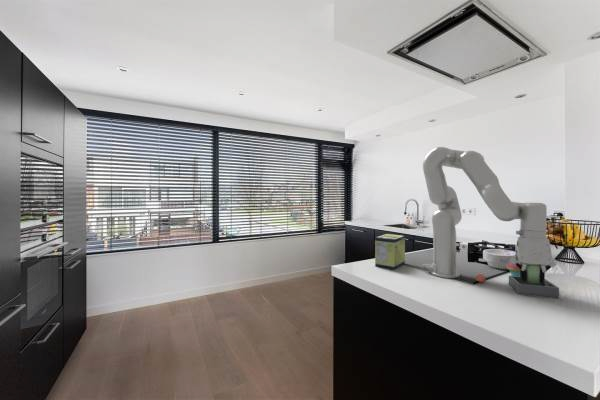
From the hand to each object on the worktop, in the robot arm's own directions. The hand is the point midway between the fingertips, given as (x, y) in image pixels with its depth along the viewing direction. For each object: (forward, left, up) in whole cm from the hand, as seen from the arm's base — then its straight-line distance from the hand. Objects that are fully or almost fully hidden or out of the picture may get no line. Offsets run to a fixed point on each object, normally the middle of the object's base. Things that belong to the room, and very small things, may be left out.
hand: (532, 280), depth 104 cm
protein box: (-54, +20, -5) cm, 58 cm away
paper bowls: (-1, +35, -5) cm, 35 cm away
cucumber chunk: (0, 0, -1) cm, 1 cm away
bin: (0, 0, -4) cm, 4 cm away
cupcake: (+1, +18, -5) cm, 19 cm away
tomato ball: (-16, +5, -4) cm, 17 cm away
